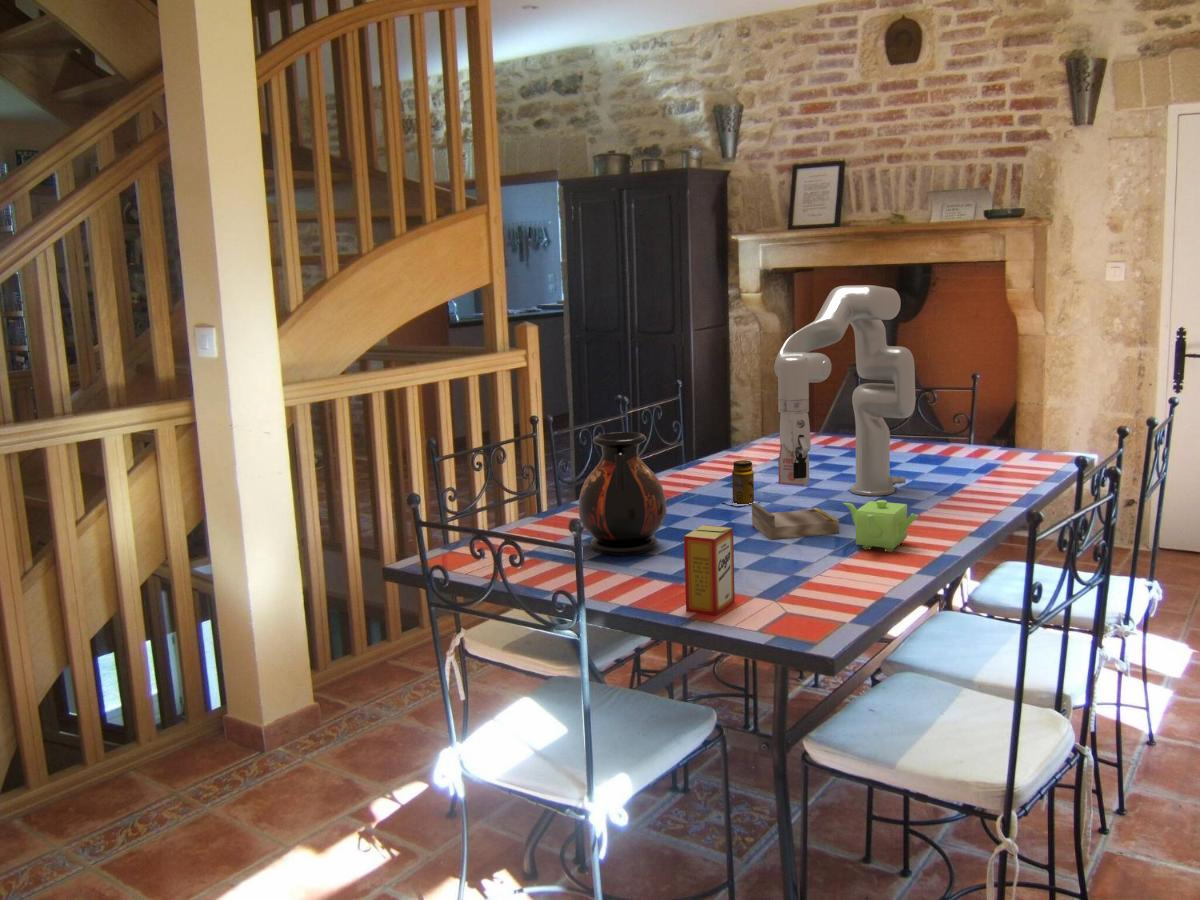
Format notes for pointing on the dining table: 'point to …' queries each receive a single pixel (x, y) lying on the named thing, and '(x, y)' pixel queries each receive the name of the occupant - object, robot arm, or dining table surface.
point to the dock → (793, 523)
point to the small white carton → (790, 468)
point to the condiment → (743, 482)
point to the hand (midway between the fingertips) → (794, 474)
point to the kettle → (881, 524)
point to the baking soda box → (709, 569)
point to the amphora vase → (622, 498)
